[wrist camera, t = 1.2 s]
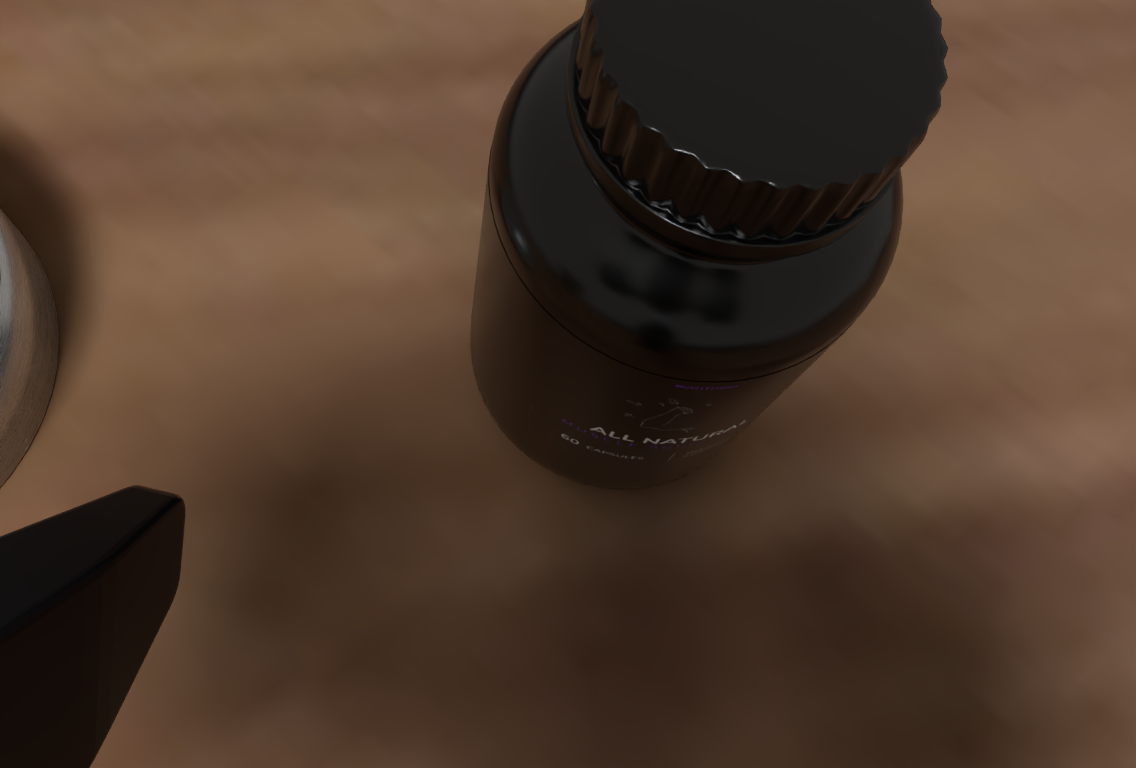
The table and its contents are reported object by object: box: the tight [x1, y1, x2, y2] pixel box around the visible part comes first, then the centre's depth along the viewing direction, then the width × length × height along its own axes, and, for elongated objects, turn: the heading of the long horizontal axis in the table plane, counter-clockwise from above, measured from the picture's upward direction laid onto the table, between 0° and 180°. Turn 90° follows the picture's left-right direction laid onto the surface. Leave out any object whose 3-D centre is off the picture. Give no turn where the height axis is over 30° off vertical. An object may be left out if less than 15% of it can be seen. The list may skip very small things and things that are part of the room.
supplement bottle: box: [470, 0, 948, 489], centre depth 19 cm, size 7×7×12 cm
